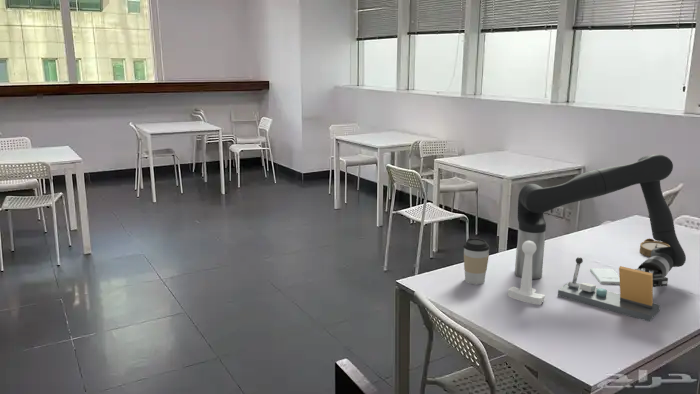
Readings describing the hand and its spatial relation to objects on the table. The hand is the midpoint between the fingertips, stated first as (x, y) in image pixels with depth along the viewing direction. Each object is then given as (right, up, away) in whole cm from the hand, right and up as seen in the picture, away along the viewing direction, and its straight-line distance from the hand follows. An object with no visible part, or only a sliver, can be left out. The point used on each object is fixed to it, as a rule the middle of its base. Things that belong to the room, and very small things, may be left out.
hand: (637, 285), depth 168 cm
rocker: (-10, -4, +13) cm, 16 cm away
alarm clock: (+36, +4, +56) cm, 67 cm away
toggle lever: (-13, -3, +16) cm, 21 cm away
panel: (-5, -7, +9) cm, 13 cm away
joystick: (-29, -6, +13) cm, 33 cm away
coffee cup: (-43, -3, +28) cm, 51 cm away
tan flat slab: (+1, -6, +3) cm, 6 cm away
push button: (-7, -5, +10) cm, 13 cm away
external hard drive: (+5, -3, +30) cm, 31 cm away
